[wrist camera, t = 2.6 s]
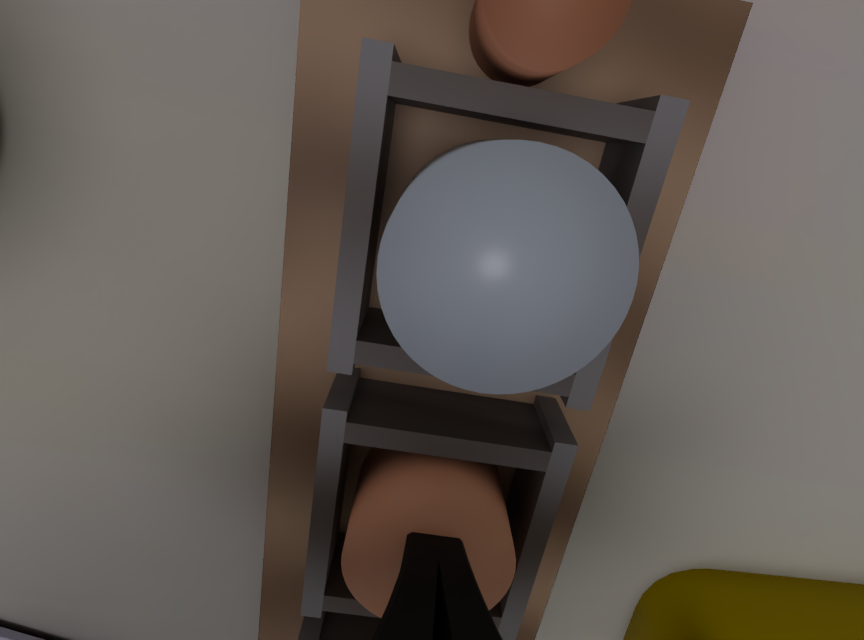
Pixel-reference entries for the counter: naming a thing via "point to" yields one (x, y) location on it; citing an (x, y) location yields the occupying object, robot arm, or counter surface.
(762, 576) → the element tile
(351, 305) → the panel
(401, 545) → the terracotta button
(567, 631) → the counter surface
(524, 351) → the slate button
